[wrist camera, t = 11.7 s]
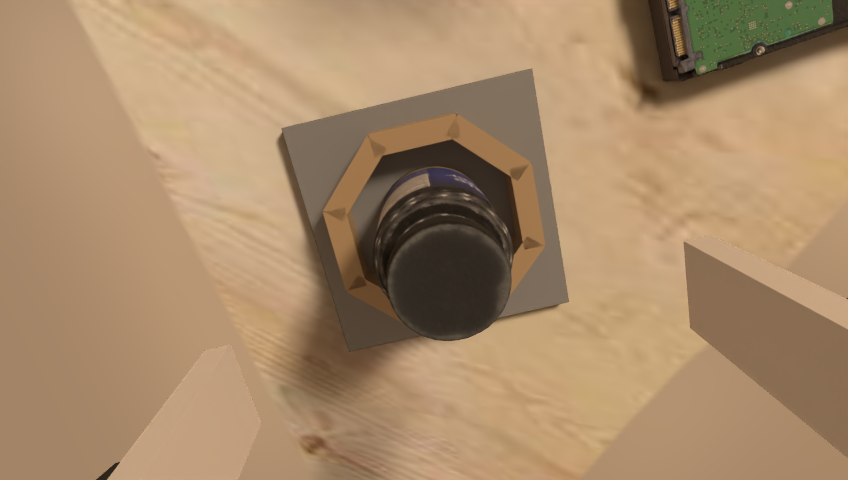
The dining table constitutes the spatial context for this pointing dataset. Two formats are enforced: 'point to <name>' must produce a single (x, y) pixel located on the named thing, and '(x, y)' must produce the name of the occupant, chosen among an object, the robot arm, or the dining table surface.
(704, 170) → the dining table surface
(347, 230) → the end holder
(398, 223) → the pill bottle
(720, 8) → the disk drive
